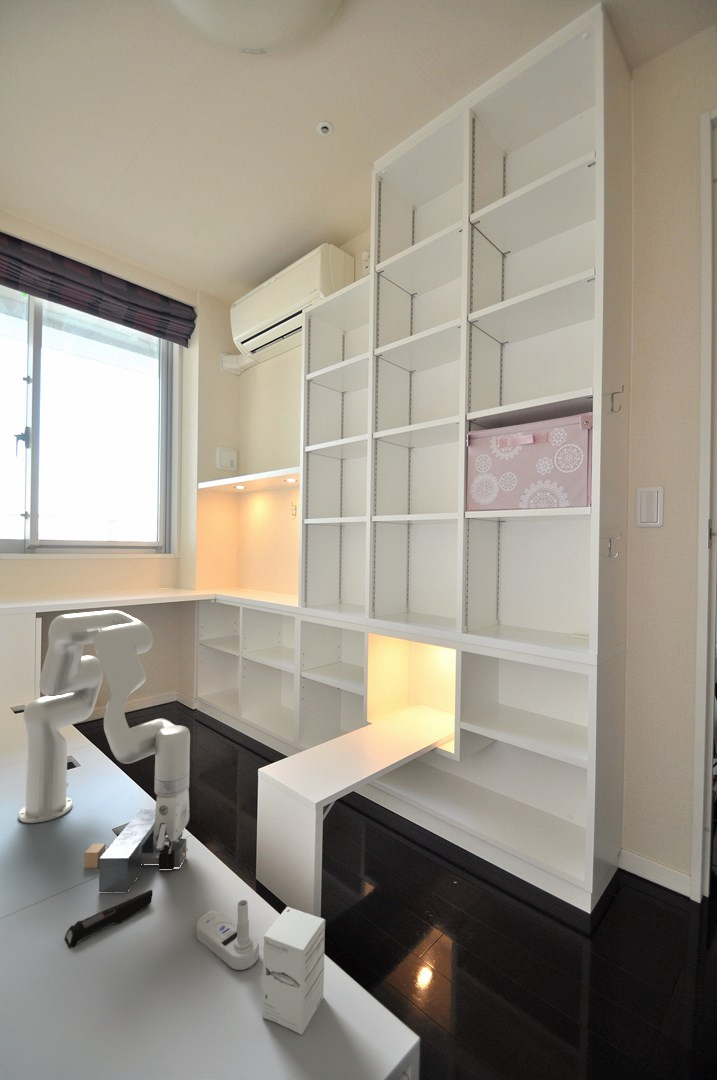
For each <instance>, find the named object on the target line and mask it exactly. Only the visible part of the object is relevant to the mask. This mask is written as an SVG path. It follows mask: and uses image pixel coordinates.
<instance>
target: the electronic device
mask: <svg viewBox="0 0 717 1080" xmlns="http://www.w3.org/2000/svg"><path fill="white" fill-rule="evenodd" d="M248 903H249V902H248V900H247V899H241V900H239V901H238V902H237V921H235V920H233V919H232V918H230V917H229V916H228V915H227V914H225V913H224V912H222V911H218V910H212V911H209V912H207V913H204V914H203V915H201V917H200V918H199V919H198V921H197V922H196V923H197V924H196V936H197V939H198V940H199V941H200V942H201V943H202V944H203V945H204V946H205V947H206V948H208V949H209V950H210V951H212V953H213V954H215V955H216V956H217V957H218V958H220V960H222V961H223V962H224V963H225V964H227V965H228V966H229V967H230V968H231V969H233V970H235V971H242V970H244V971H245V970H246V969H249V968H251V967H252V966H254V965H255V964H256V963H257V960H259V959H258V958H259V955H260V951H259V949H260V945H259V940H258V938H257V937H256V936H255V935H254V934H252V933H251V932H250V931H249V930H250V929H249V927H250V926H249V925H250V924H249V923H250V921H249V906H248V905H249V904H248Z"/></svg>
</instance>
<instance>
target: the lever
mask: <svg viewBox="0 0 717 1080" xmlns="http://www.w3.org/2000/svg"><path fill="white" fill-rule="evenodd" d="M187 844H188V843H187V838H182V839H177V840H176V841H173V850H172V851H174V867H180V865H181V863H182V862H183V860H184V859H185V857H186V858H187V852H188V848H187ZM165 845H168V846H169V842H165ZM105 851H106V843H91V845H90V846H88V848H87V849H86V850H85V851H84V857H83V859H84V860H83V863H84V864H83V868H85V869H90V868H91V869H93V868H94V869H98V868H99V862H100V857H101V856H102V855H103V854H104V852H105ZM185 860H186V859H185ZM141 864H142V865H144V864H159V853H158V852H155V853H142V858H141ZM97 867H98V868H97Z"/></svg>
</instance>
